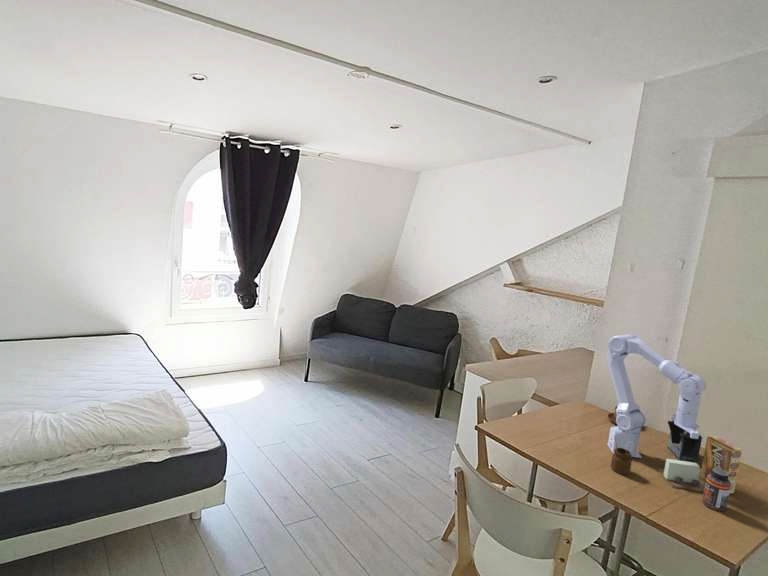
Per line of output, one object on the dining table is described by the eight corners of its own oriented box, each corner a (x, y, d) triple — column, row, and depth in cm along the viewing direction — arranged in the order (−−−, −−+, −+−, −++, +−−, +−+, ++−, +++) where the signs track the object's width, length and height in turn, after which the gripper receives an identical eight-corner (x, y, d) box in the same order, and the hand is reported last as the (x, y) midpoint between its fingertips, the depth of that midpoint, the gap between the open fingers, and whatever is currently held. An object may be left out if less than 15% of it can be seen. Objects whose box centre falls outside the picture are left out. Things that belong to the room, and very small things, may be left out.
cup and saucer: (621, 416, 196) (623, 403, 195) (645, 428, 185) (647, 414, 184) (600, 418, 192) (602, 404, 191) (623, 430, 181) (625, 416, 180)
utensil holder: (631, 476, 146) (637, 443, 144) (611, 472, 147) (616, 439, 146) (627, 467, 151) (632, 435, 149) (607, 463, 153) (612, 431, 151)
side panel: (672, 487, 141) (673, 479, 141) (658, 470, 151) (660, 463, 150) (713, 493, 139) (714, 486, 138) (697, 476, 149) (698, 469, 148)
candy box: (734, 493, 140) (743, 449, 137) (724, 494, 139) (732, 450, 136) (708, 477, 148) (716, 435, 146) (698, 478, 147) (706, 436, 145)
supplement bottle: (696, 499, 135) (703, 465, 133) (714, 499, 136) (721, 466, 134) (712, 512, 129) (719, 477, 127) (731, 512, 130) (738, 477, 128)
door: (666, 479, 144) (669, 462, 143) (663, 475, 146) (666, 458, 145) (696, 483, 142) (699, 466, 141) (693, 479, 144) (696, 462, 144)
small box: (698, 464, 157) (703, 436, 156) (679, 461, 158) (683, 434, 157) (685, 449, 167) (689, 424, 166) (666, 447, 169) (670, 421, 167)
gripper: (712, 422, 137) (704, 461, 139) (690, 404, 151) (683, 440, 153) (687, 418, 138) (680, 458, 141) (667, 401, 153) (661, 437, 155)
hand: (680, 448), depth 147 cm, fingers open, 7 cm apart
